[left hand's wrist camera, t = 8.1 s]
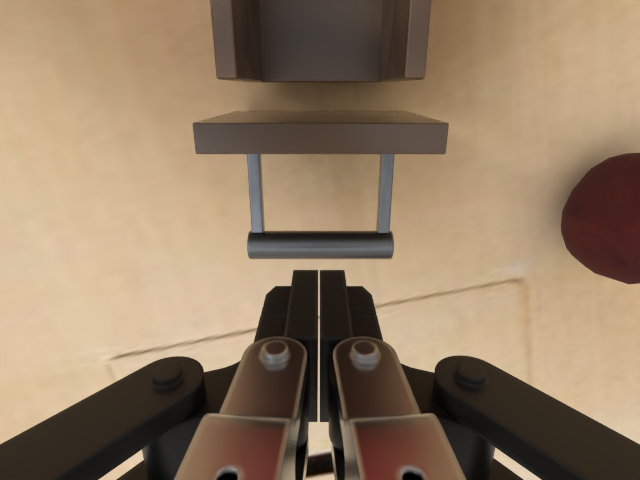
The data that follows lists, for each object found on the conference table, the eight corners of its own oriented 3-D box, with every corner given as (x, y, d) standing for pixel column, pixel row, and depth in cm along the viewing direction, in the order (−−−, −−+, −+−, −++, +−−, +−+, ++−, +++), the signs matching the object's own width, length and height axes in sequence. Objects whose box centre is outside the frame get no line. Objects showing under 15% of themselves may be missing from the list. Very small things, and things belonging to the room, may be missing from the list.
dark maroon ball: (676, 207, 27) (791, 246, 21) (570, 274, 29) (644, 330, 22) (629, 118, 25) (739, 129, 19) (518, 196, 27) (583, 231, 20)
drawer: (396, 226, 27) (431, 289, 18) (244, 226, 27) (209, 289, 18) (427, -219, 19) (511, -459, 11) (214, -219, 19) (130, -459, 11)
